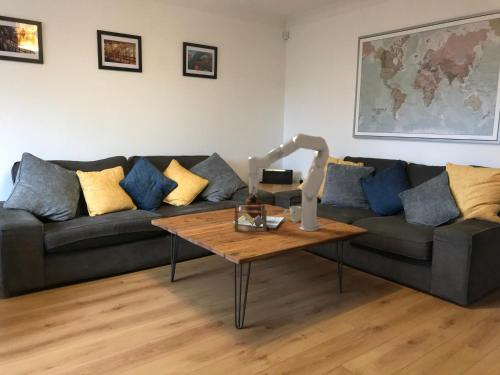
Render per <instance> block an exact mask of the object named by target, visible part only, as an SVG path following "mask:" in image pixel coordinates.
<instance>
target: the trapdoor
mask: <svg viewBox="0 0 500 375" xmlns="http://www.w3.org/2000/svg"><path fill="white" fill-rule="evenodd" d="M238 211H246V210H245V209H244V207H242V206H241V207H238ZM240 214H241V215H242V216H243V217H244V218H245V220H246V219H247V220H246V221H248V223H251V224H252V225H253V224H254V222H253V218H252V217H251V216H250V215H249V214H248V213H240Z"/></svg>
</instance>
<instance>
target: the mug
mask: <svg viewBox="0 0 500 375" xmlns="http://www.w3.org/2000/svg"><path fill="white" fill-rule="evenodd" d="M287 212H289V213H290V214H289V215H290V217H287V215H286V213H287ZM283 216H284V218H286V219H290V221H291V222H293V223H298V222H300V220H301V217H302V206H299V205H290V206H289V209H288V208H287V209H284V211H283Z"/></svg>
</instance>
